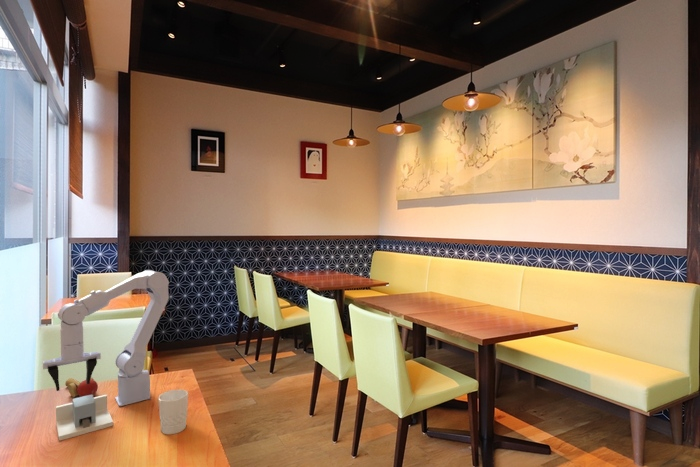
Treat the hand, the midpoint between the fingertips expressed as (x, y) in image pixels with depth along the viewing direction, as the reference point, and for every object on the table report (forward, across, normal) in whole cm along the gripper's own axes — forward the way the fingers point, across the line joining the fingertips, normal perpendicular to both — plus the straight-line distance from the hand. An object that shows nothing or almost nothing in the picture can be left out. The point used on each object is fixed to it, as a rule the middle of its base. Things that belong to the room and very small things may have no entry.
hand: (73, 386), depth 123 cm
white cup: (+10, -22, +27) cm, 36 cm away
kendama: (+10, -3, -20) cm, 22 cm away
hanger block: (+8, -2, +8) cm, 12 cm away
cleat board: (+9, -2, +8) cm, 13 cm away
